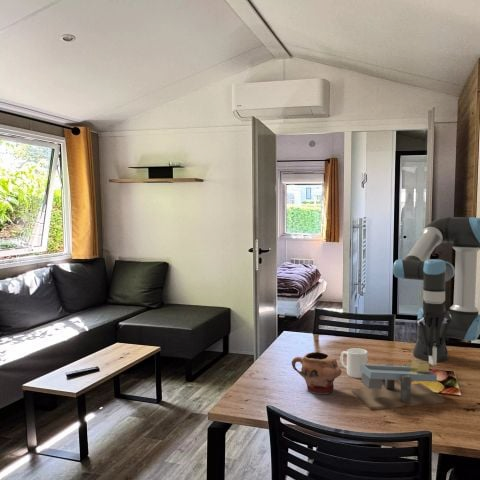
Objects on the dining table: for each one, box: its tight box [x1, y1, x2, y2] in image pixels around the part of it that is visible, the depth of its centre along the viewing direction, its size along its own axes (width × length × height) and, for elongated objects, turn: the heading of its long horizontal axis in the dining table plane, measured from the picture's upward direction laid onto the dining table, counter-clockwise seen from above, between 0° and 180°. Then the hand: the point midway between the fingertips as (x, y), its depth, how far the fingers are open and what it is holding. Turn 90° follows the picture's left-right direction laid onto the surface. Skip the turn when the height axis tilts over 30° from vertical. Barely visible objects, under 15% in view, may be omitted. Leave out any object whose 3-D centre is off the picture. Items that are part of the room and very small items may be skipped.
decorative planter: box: [291, 351, 342, 395], centre depth 184 cm, size 20×12×14 cm, turn 65°
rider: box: [410, 359, 430, 374], centre depth 178 cm, size 4×4×4 cm
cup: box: [339, 347, 368, 379], centre depth 201 cm, size 8×12×10 cm
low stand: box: [351, 364, 447, 411], centre depth 177 cm, size 29×16×10 cm, turn 100°
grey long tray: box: [360, 363, 438, 389], centre depth 176 cm, size 26×9×6 cm, turn 101°
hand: (432, 363), depth 178 cm, fingers closed
